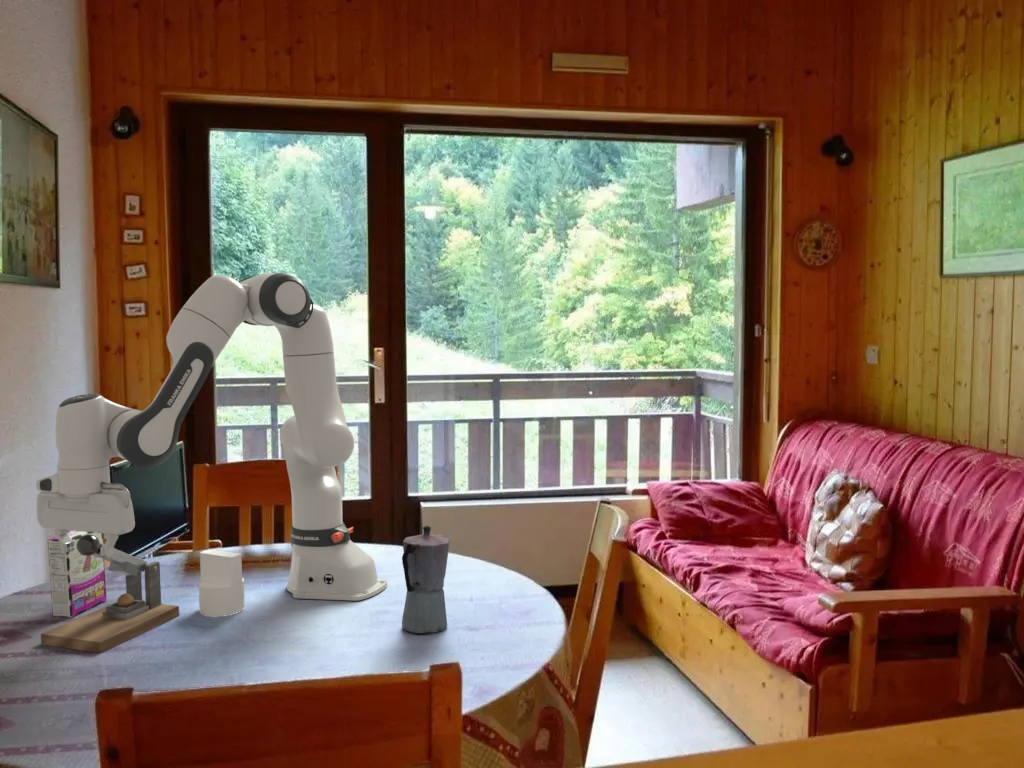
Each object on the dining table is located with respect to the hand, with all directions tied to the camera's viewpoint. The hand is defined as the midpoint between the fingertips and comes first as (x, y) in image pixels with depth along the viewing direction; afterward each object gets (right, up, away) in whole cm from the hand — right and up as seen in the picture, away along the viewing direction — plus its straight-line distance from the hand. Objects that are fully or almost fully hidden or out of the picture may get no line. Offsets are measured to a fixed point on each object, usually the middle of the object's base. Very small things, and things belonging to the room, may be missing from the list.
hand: (87, 553), depth 165 cm
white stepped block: (+19, -15, +18) cm, 31 cm away
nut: (+3, -13, +10) cm, 16 cm away
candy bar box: (-11, -16, +19) cm, 27 cm away
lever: (+2, -4, +5) cm, 6 cm away
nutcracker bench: (+2, -16, +7) cm, 17 cm away
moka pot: (+63, -16, +6) cm, 65 cm away
